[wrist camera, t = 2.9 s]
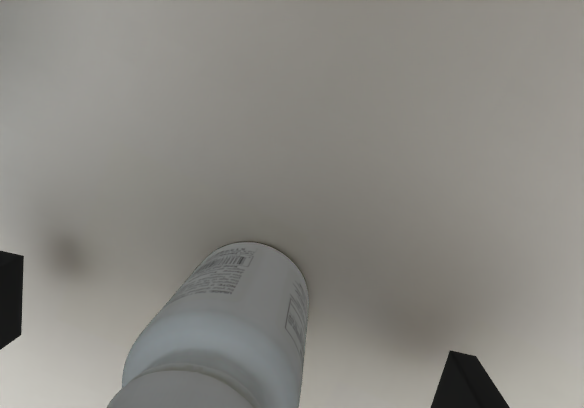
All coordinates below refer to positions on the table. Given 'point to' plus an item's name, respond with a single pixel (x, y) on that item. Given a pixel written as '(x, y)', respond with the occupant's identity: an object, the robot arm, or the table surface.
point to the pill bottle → (224, 337)
